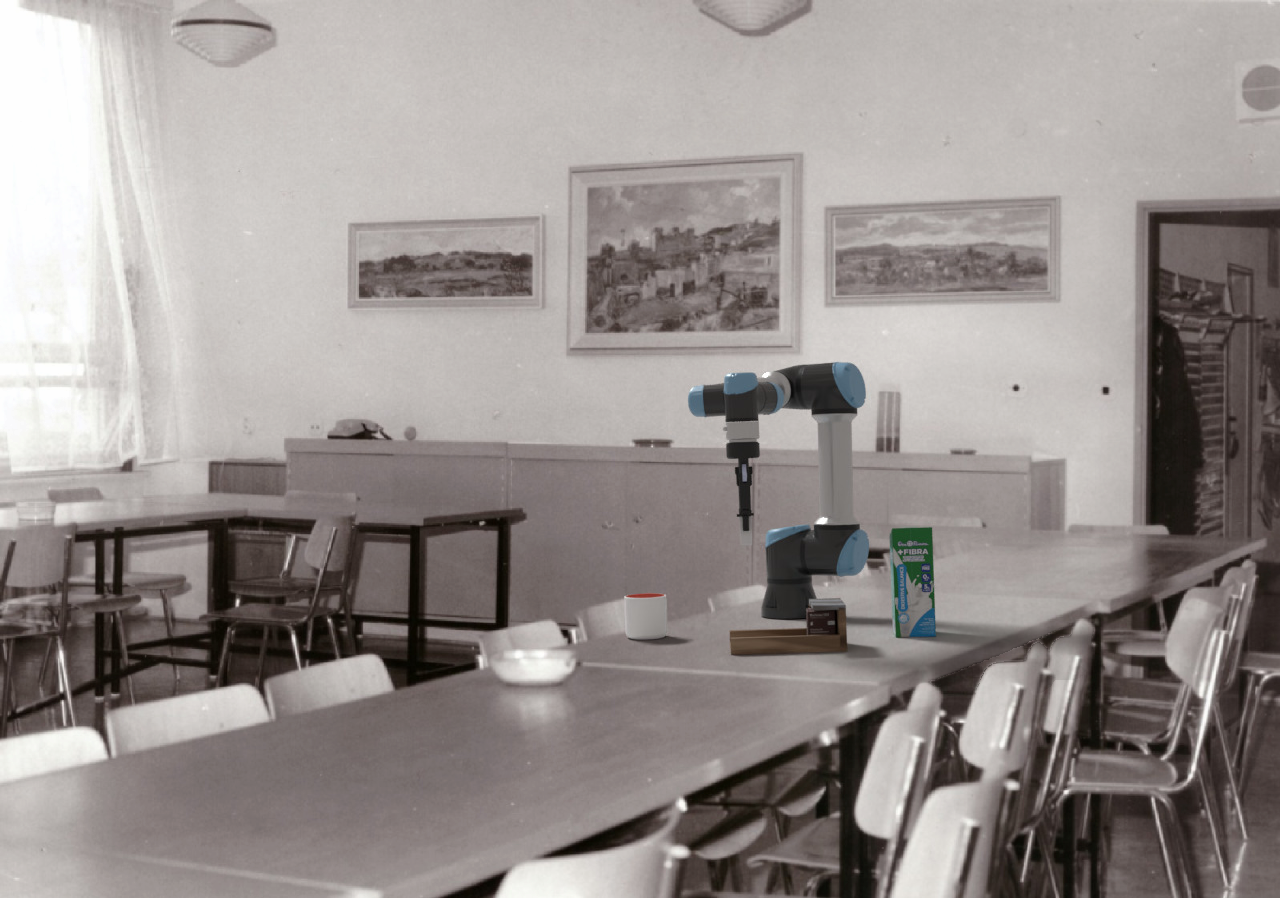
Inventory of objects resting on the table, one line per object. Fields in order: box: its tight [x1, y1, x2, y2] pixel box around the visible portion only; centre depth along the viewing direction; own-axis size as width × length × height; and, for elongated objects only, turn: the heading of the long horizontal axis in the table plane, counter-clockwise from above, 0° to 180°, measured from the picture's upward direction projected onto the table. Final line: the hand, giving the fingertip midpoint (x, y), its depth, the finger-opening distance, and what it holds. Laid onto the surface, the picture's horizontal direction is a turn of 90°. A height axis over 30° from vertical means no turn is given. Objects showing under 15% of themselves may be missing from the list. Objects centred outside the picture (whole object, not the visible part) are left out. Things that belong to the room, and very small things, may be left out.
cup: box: [623, 592, 669, 641], centre depth 343 cm, size 10×10×10 cm
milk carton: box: [889, 525, 937, 638], centre depth 332 cm, size 9×9×25 cm
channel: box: [729, 597, 848, 656], centre depth 318 cm, size 13×25×10 cm, turn 87°
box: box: [805, 608, 835, 635], centre depth 318 cm, size 6×6×7 cm
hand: (746, 545), depth 326 cm, fingers closed
